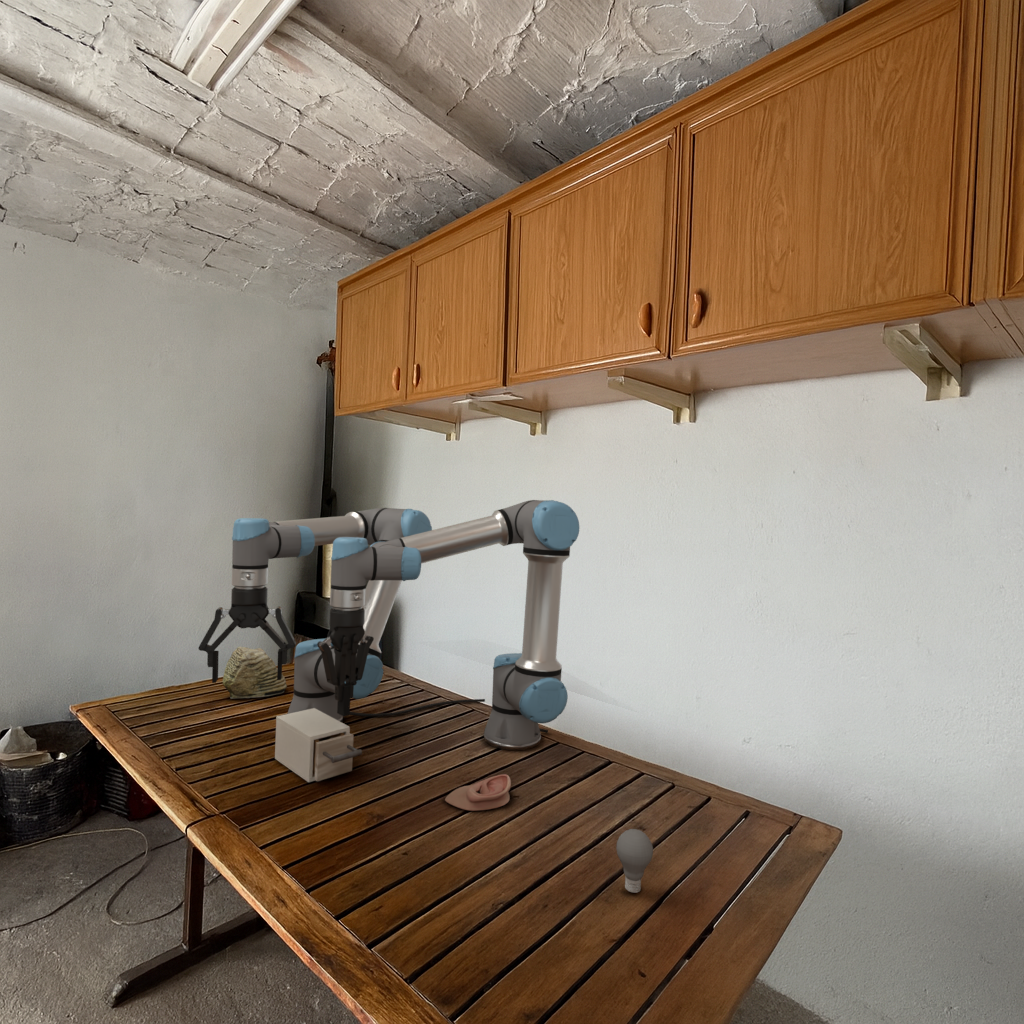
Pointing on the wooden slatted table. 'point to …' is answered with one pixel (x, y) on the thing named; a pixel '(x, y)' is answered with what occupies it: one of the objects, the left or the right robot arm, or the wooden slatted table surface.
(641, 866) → the light bulb
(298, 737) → the cabinet
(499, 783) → the anatomical model
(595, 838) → the wooden slatted table surface
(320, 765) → the drawer
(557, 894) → the wooden slatted table surface
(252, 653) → the fossil
